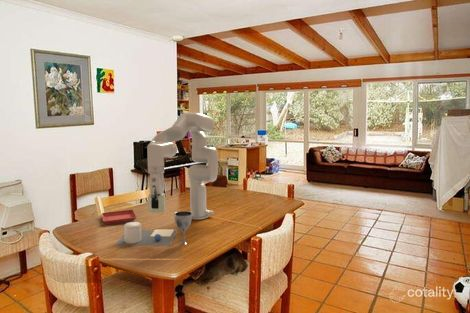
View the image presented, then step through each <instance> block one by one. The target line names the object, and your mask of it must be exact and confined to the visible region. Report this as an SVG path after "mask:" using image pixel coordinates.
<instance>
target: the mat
mask: <svg viewBox="0 0 470 313" xmlns="http://www.w3.org/2000/svg"><path fill="white" fill-rule="evenodd" d="M141 232H142V239H141V241H140V242H136V243H126V242H124V234H123V235H122V236H121V237H120V238H119V239H118V240H117V241H116V242H115V243H114V246H170V245H171V244H172V242H173V240H174V238H175V237H176V234H177V232H178V230H175V229H169V228H168V229H166V228H165V229H162V228H161V229H159V228H158V229H157V228H156V229H154V230H151V229H150V230H149V229H148V230H147V229H146V230H145V229H144V230H142V229H141ZM156 234H160V235H161V239H160V240H159V241H157V240H155V238H154V236H155V235H156Z"/></svg>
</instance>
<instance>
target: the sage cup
mask: <svg viewBox="0 0 470 313" xmlns="http://www.w3.org/2000/svg"><path fill="white" fill-rule="evenodd" d="M155 196H156V195H155ZM147 199H148V200H147V201H148V212H150V213H151V214H153V213H156V214H157V213H163V212H165V211H166V210H167V208H166V207H167V206H166V204H167V203H166V194H165V193H164V192H162V193H161V194H160V195H159V194H158V202H159V208H158V209H152V206H151V194H150V193H149V194H148V196H147Z"/></svg>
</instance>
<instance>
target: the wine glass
mask: <svg viewBox="0 0 470 313" xmlns="http://www.w3.org/2000/svg"><path fill="white" fill-rule="evenodd" d="M192 220H193V219H192V213H191V211H189V210H182V211H181V210H180V211H176V212H175V213H174V221H175V226H176V228H178V229H179V230H180V231H181V235H182V241H180V242H179V245H187V244H188V242H187V241H185V235H186V234H185V233H186V231H187V230H188V229H189V228H190V226H191V223H192Z"/></svg>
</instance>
